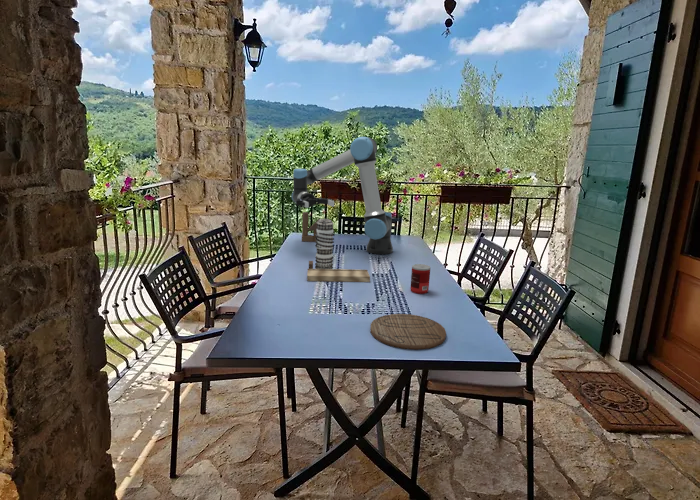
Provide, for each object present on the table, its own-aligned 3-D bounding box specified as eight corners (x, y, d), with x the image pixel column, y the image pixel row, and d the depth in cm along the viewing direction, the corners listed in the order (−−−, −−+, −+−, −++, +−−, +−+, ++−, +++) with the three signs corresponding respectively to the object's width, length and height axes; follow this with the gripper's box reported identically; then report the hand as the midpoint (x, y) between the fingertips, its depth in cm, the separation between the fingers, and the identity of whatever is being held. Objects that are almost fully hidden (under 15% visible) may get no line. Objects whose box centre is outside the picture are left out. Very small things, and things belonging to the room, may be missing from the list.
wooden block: (319, 242, 270) (319, 213, 266) (301, 241, 269) (302, 212, 265) (319, 240, 274) (319, 212, 269) (301, 240, 273) (302, 211, 269)
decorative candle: (337, 271, 211) (339, 220, 205) (323, 274, 205) (324, 222, 199) (324, 267, 217) (325, 217, 211) (310, 270, 211) (311, 219, 205)
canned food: (429, 289, 190) (431, 265, 187) (426, 295, 183) (428, 270, 180) (412, 287, 192) (414, 263, 190) (408, 292, 185) (410, 267, 182)
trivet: (455, 351, 135) (456, 345, 134) (375, 350, 133) (375, 345, 132) (434, 319, 159) (434, 314, 159) (366, 318, 157) (366, 313, 157)
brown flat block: (312, 268, 214) (313, 260, 213) (312, 272, 208) (313, 264, 207) (308, 268, 213) (308, 260, 212) (308, 272, 208) (308, 264, 207)
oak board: (366, 274, 208) (367, 269, 207) (369, 282, 197) (369, 276, 196) (307, 273, 205) (307, 268, 204) (307, 281, 194) (307, 275, 194)
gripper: (327, 205, 241) (343, 210, 223) (284, 207, 231) (296, 213, 212) (327, 191, 240) (343, 196, 221) (283, 193, 229) (296, 197, 211)
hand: (320, 204), depth 217 cm, fingers open, 13 cm apart
